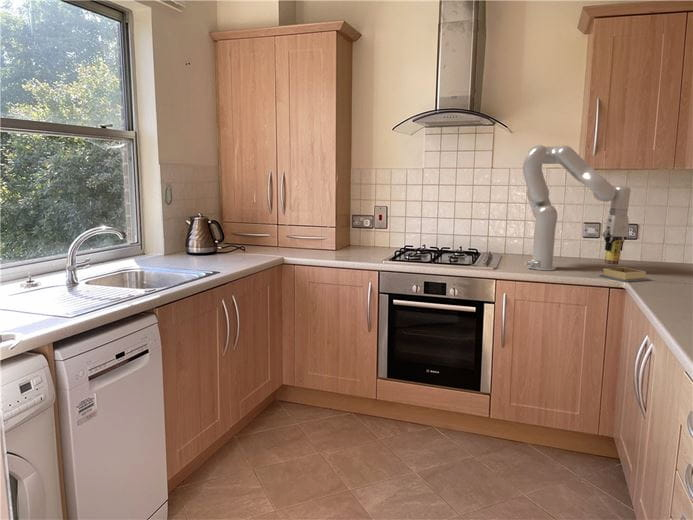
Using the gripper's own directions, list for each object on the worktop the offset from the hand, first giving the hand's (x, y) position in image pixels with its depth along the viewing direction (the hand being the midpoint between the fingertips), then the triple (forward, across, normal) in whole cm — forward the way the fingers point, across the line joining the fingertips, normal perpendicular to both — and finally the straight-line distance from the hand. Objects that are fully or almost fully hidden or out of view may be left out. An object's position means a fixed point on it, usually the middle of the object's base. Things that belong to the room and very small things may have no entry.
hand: (613, 249), depth 250 cm
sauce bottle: (+7, 0, 0) cm, 7 cm away
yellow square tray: (+11, -7, -14) cm, 19 cm away
